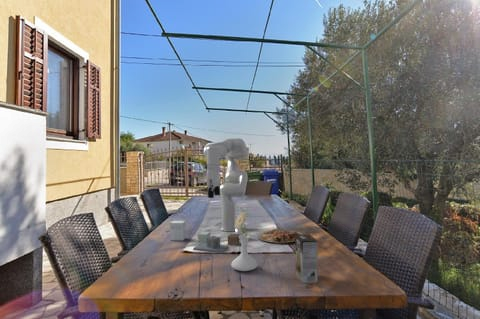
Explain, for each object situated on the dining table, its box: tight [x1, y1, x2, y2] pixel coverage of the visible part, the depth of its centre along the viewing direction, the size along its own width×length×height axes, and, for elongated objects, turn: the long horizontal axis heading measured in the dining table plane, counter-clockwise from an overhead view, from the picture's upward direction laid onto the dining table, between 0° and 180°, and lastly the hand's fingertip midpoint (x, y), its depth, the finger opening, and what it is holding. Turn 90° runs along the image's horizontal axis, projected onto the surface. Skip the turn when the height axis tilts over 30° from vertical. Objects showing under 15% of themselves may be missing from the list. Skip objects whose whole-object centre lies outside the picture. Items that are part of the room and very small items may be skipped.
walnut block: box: [227, 233, 241, 246], centre depth 157 cm, size 6×5×5 cm
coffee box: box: [294, 233, 319, 284], centre depth 111 cm, size 9×6×16 cm
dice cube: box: [206, 235, 221, 249], centre depth 148 cm, size 5×5×5 cm
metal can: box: [234, 227, 245, 235], centre depth 168 cm, size 5×5×6 cm
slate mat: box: [193, 243, 229, 253], centre depth 149 cm, size 9×16×1 cm, turn 73°
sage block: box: [197, 230, 211, 244], centre depth 162 cm, size 6×5×5 cm
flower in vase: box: [230, 211, 258, 272], centre depth 120 cm, size 13×11×25 cm
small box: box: [169, 220, 187, 241], centre depth 167 cm, size 8×6×10 cm
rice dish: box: [257, 228, 305, 244], centre depth 168 cm, size 28×28×5 cm
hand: (214, 196), depth 165 cm, fingers open, 9 cm apart
